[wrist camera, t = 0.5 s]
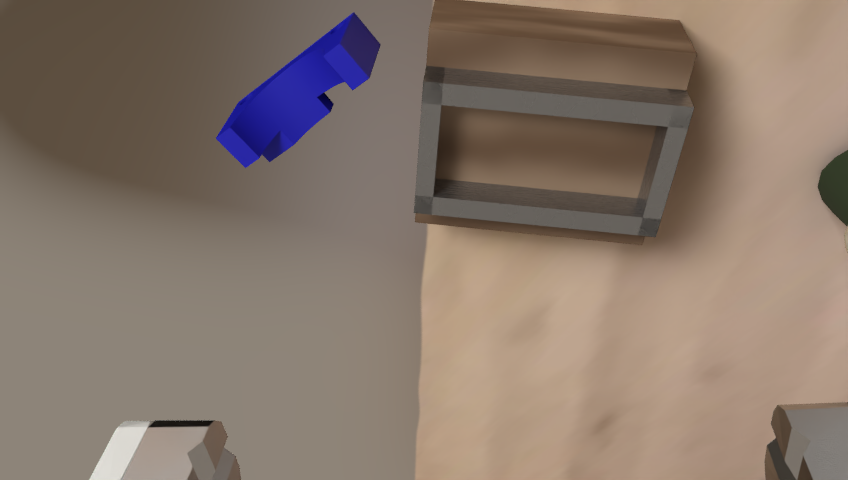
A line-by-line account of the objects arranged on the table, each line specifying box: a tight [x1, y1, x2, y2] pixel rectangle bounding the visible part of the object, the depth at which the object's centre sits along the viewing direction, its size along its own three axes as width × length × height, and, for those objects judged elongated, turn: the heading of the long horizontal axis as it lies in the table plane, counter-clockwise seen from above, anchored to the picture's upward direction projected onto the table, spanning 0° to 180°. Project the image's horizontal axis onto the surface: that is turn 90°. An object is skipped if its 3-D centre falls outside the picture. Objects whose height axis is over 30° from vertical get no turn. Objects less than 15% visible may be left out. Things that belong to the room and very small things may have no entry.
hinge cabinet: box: [414, 0, 697, 245], centre depth 55 cm, size 15×17×8 cm
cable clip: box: [216, 12, 380, 167], centre depth 57 cm, size 12×4×6 cm, turn 128°
